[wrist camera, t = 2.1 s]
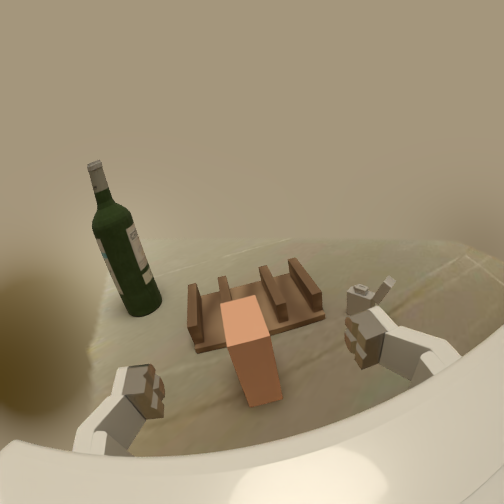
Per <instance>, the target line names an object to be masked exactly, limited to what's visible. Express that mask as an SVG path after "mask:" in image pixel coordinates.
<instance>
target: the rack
mask: <svg viewBox="0 0 504 504" xmlns="http://www.w3.org/2000/svg"><path fill="white" fill-rule="evenodd" d="M288 264H289V272H290V273H288V274H284V275H280V276H277V277H273V276H272V274H271V272H270V271H269V269H268V267H267V265H265V266H261V267H259V272H260V277H261V281H258V282H254V283H250V284H246V285H243V286H239V287H235V288H231V289H229V285H228V282H227V278H226V276H222V277H218V283H219V289H220V291H219V292H215V293H211V294H207V295H203V296H200V293H199V290H198V287H197V284H196V283H194V284H190V285H188V308H187V328H188V330H189V333H190V335H191V337H192V340H193V342H194V344H195V350H196V353H202V352H207V351H211V350H215V349H220V348H224V347H227V344H226V338H225V332H224V326H223V320H222V313H221V307H220V304H221V303H225V302H229V301H233V300H237V299H241V298H245V297H249V296H252V295H255V296H256V299H257V302H258V304H259V307H260V310H261V312H262V315H263V318H264V321H265V323H266V326H267V329H268V331H269V334H270V336H271V335H274V334H278V333H281V332H285V331H288V330H291V329H295V328H298V327H301V326H304V325H308V324H311V323H314V322H317V321H320V320H323V319H325V313H324V311H323V308H322V292H321V290H320V289H319V288H318V286H317V285H316V284H315V282H314V281H313V280H312V278H311V277H310V276H309V274H308V273H307V272H306V270H305V269H304V268H303V266H302V265H301V264H300V263H299V261H298V260H297V259H296V258H292V259H288Z"/></svg>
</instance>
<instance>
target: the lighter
mask: <svg viewBox="0 0 504 504" xmlns="http://www.w3.org/2000/svg"><path fill="white" fill-rule="evenodd" d="M395 282H396V281H395V280H394V279H393V278H392V277H390V276H389V275H388V277H387V278H386V279H385V281H384V282H383V283H382V285H381V286H380V288H379V289H378V291H377V292H376V293H373V292H370V291H368V288H369V287H367V286H364V285H361V284H358V285H355V286H351V287H350V288H349V289H348V291H347V314H348V315H350V316H351V315H354V314H356V313H359V312H362V311H365V310H367V309H370V308H373V307H375V303H377V304H378V305H379V303H380V302H381V301H382V299H383V298H384V297H385V295H386V294H387V293H388V291H389V290H390V289H391V287H392V286H393V285H394V283H395Z"/></svg>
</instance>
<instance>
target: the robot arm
mask: <svg viewBox="0 0 504 504" xmlns="http://www.w3.org/2000/svg"><path fill="white" fill-rule="evenodd" d="M345 325H346V326H347V330H346V331H345V342H346V345H347V348H348V349H349V351H350V352H351V353H353V354H355V361H356V362H357V364H358V365H359V367H360V368H361V370H363V369H365V368H368V367H370V366H373V365H376V364H378V363H379V364H380V365H382V366H383V367H385V368H387V369H389V370H391V371H393V372H395V373H397V374H399V375H400V376H402V377H404V378H406V379H408V380H410V381H411V383H410V386H409V388H408V390H407V391H405V392H403V393H401V394H399V395H397V396H396V397H394V398H391V399H389V400H387V401H385V402H383V403H381V404H379V405H377V406H375V407H372V408H370V409H368V410H365V411H363V412H361V413H358V414H356V415H353V416H351V417H348V418H346V419H343V420H341V421H338V422H335V423H332V424H330V425H327V426H324V427H321V428H318V429H315V430H312V431H308V432H305V433H302V434H298V435H295V436H291V437H288V438H284V439H280V440H276V441H272V442H268V443H263V444H259V445H254V446H249V447H244V448H238V449H233V450H226V451H220V452H212V453H204V454H194V455H182V456H164V457H135V456H134V455H132V454H131V453H130V452H128V451H127V450H128V448H129V447H130V445H131V443H132V442H133V440H134V439H135V437H136V435H137V434H138V432H139V431H140V429H141V428H142V426H143V424H144V423H145V421H146V419H156V418H164V404H163V403H162V400H163V398H164V397H165V389H164V384H163V382H162V379H161V378H160V376H158V375H156V374H155V368H154V367H153V365H152V364H145V365H136V366H128V367H119V368H118V369H117V372H116V376H115V380H114V384H113V389H112V393H111V396H108V397H107V398H106V399H105V400H104V401H103V402H102V403H101V404H100V405H99V406H98V407H97V408H96V409H95V411H94V412H93V413H92V414H91V415H90V416H89V417H88V418H87V419H86V420H85V421H84V422H83V423H82V425H81V426H80V427H79V428H78V429H77V432H76V437H75V441H74V446H73V451H65V450H60V449H55V448H49V447H45V446H40V445H36V444H32V443H28V442H24V441H21V440H13V441H12V442H10V443H9V444H8V445H6V446H5V447H4V448H3V449H2V450H1V451H0V504H504V324H503V325H502V326H501V327H500V328H499V329H498V330H496V331H495V332H494V333H493V334H492V335H490V336H489V337H488V338H487V339H485V340H484V341H483V342H482V343H480V344H479V345H478V346H476V347H475V348H474V349H472V350H471V351H470V352H468V353H467V354H465V355H464V356H463V357H461V356H460V355H459V353H458V352H457V351H456V350H455V349H454V348H453V347H452V346H451V345H450V344H449V343H448V342H447V341H446V340H444V339H441V338H437V337H434V336H431V335H428V334H425V333H421V332H418V331H415V330H412V329H409V328H406V327H403V326H400V327H398V326H397V325H396V324H395V323H394V322H393V321H392V320H391V318H390V317H389V316H388V315H387V314H386V313H385V312H384V311H383V310H382V309H381V308H380V307H379V306H375V307H373V308H370V309H367V310H365V311H362V312H359V313H356V314H354V315H351V316H348V317H346V319H345Z"/></svg>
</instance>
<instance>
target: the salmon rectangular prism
mask: <svg viewBox="0 0 504 504" xmlns="http://www.w3.org/2000/svg"><path fill="white" fill-rule="evenodd" d="M220 307H221V313H222V320H223V326H224V332H225V338H226V344H227V348H228V351H229V354H230V356H231V359H232V362H233V365H234V367H235V370H236V373H237V375H238V378H239V380H240V383H241V386H242V388H243V391H244V393H245V396H246V398H247V401H248V404H249V406H250V407H254V406H258V405H262V404H266V403H270V402H274V401H277V400H281V399H283V396H282V392H281V387H280V382H279V377H278V372H277V367H276V362H275V357H274V352H273V347H272V342H271V338H270V334H269V331H268V329H267V326H266V323H265V321H264V318H263V315H262V312H261V310H260V307H259V304H258V302H257V299H256V296H255V295H252V296H249V297H245V298H241V299H237V300H233V301H229V302H225V303H221V304H220Z"/></svg>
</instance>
